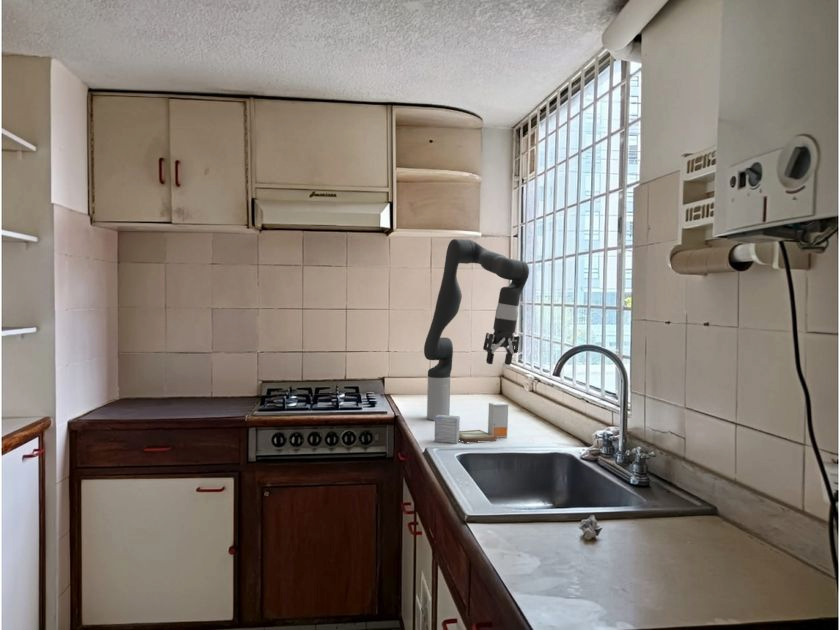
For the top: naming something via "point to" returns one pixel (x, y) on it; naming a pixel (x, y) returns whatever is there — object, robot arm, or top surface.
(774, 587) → the top surface
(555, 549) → the top surface
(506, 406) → the skincare box
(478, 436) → the plate
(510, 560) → the top surface
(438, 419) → the medicine box
